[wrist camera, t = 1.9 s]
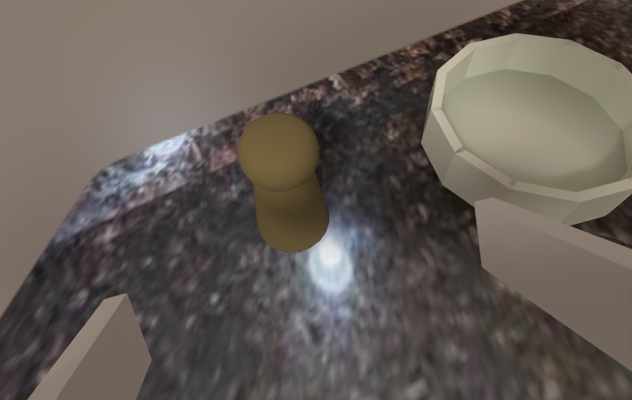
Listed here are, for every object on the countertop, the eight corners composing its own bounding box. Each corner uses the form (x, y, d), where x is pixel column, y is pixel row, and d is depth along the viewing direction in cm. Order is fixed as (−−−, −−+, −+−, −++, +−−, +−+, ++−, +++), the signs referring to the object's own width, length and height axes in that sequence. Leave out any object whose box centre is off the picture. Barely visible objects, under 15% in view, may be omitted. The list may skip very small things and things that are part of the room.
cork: (252, 196, 35) (221, 107, 26) (320, 182, 35) (313, 89, 26) (262, 259, 32) (230, 185, 23) (336, 243, 32) (335, 164, 23)
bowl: (556, 57, 42) (578, 19, 38) (675, 196, 33) (720, 165, 29) (396, 94, 40) (402, 58, 36) (475, 251, 31) (495, 225, 28)
